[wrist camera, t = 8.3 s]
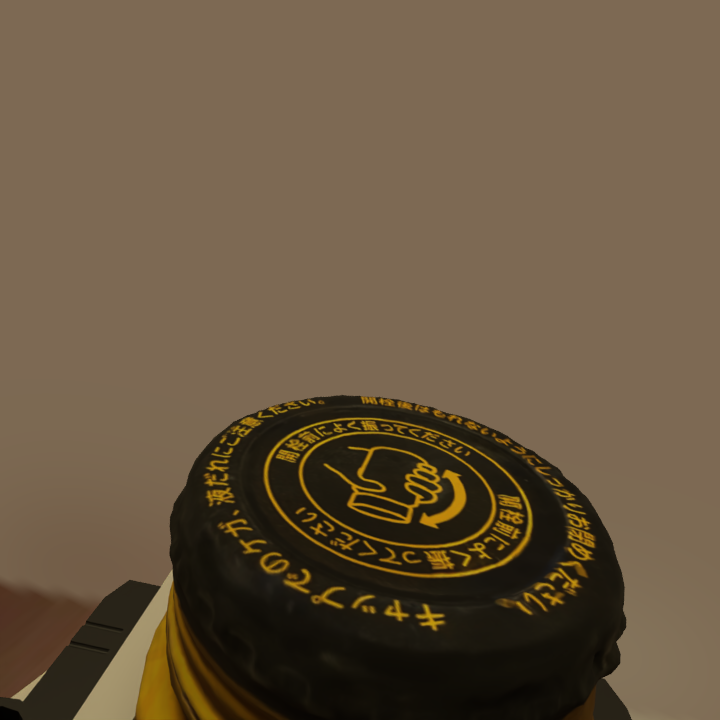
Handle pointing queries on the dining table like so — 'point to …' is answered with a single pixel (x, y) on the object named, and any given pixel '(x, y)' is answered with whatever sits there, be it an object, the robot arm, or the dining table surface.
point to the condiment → (381, 574)
